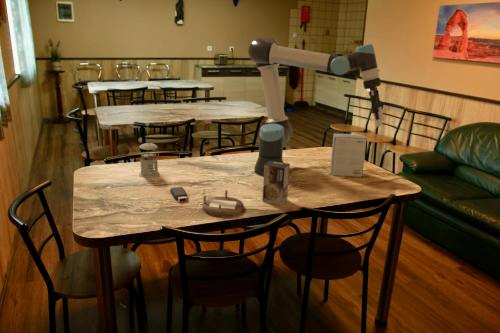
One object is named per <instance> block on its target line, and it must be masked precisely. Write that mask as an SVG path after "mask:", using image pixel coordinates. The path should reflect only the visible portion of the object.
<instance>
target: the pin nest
mask: <svg viewBox="0 0 500 333" xmlns="http://www.w3.org/2000/svg"><path fill="white" fill-rule="evenodd" d="M224 192H225V193H224V196H214V197H213V196H212V197H211V198H208V199H207V197H206V195H203V200H202V211H203V210H204V211H203V212H204V213H205V212H206V213H205V214H207V215H209V214H210V215H209V216H212V215H213V217H217V216H221V218H223V217H222V216H230V217H233V216H232V215H235V216H237V215H236V214H238V213H240V212H241V211H242V212H243V211H244V203H243V202H242V200H240V199H237V198H235V197H231V196H228V190H227V189H225V191H224ZM242 212H241V213H242ZM241 213H240V214H241ZM238 215H239V214H238Z"/></svg>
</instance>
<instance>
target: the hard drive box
mask: <svg viewBox="0 0 500 333" xmlns="http://www.w3.org/2000/svg"><path fill="white" fill-rule="evenodd" d="M367 142H368V141H367V137H366V136H365V134H358V133H356V134H354V133H353V134H352V133H333V135H332V145H331V157H330V158H331V159H330V167H329V172H330V175H331V176H342V177H343V176H344V177H357V178H358V177H359V178H362V177H363V173H364V172H363V171H364V164H365V157H366V148H367Z"/></svg>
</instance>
